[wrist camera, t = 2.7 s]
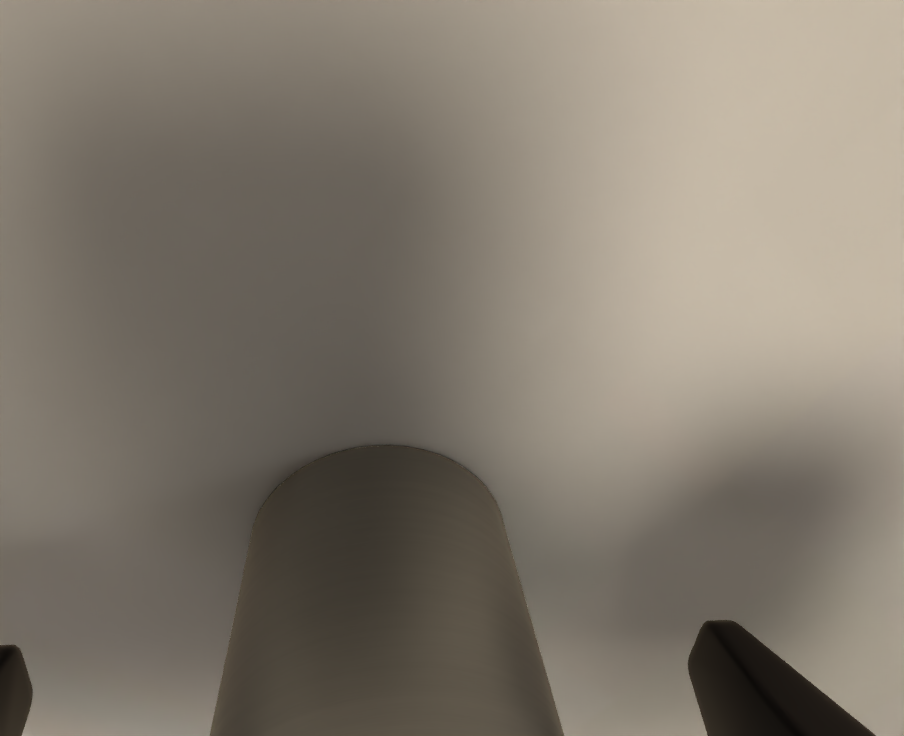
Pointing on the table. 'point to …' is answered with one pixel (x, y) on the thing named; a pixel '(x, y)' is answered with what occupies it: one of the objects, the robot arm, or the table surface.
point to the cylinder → (382, 609)
